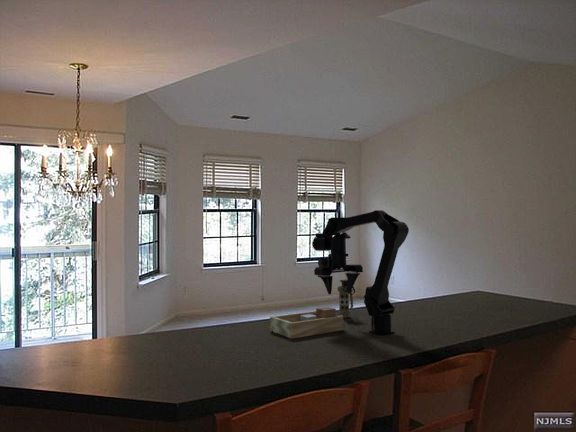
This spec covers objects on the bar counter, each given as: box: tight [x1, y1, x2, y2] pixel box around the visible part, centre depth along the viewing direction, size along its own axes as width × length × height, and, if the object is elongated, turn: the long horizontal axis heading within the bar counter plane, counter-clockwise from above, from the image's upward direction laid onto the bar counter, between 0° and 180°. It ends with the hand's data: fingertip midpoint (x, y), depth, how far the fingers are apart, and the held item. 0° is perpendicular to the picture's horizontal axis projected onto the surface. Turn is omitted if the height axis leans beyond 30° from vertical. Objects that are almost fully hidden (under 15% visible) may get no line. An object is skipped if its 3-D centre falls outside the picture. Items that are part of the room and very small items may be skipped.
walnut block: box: [315, 306, 337, 319], centre depth 182 cm, size 5×5×5 cm
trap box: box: [269, 310, 344, 339], centre depth 181 cm, size 14×22×5 cm, turn 123°
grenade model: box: [337, 278, 356, 319], centre depth 204 cm, size 6×7×15 cm
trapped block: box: [300, 314, 316, 321], centre depth 186 cm, size 4×4×4 cm
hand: (339, 293), depth 189 cm, fingers open, 9 cm apart
